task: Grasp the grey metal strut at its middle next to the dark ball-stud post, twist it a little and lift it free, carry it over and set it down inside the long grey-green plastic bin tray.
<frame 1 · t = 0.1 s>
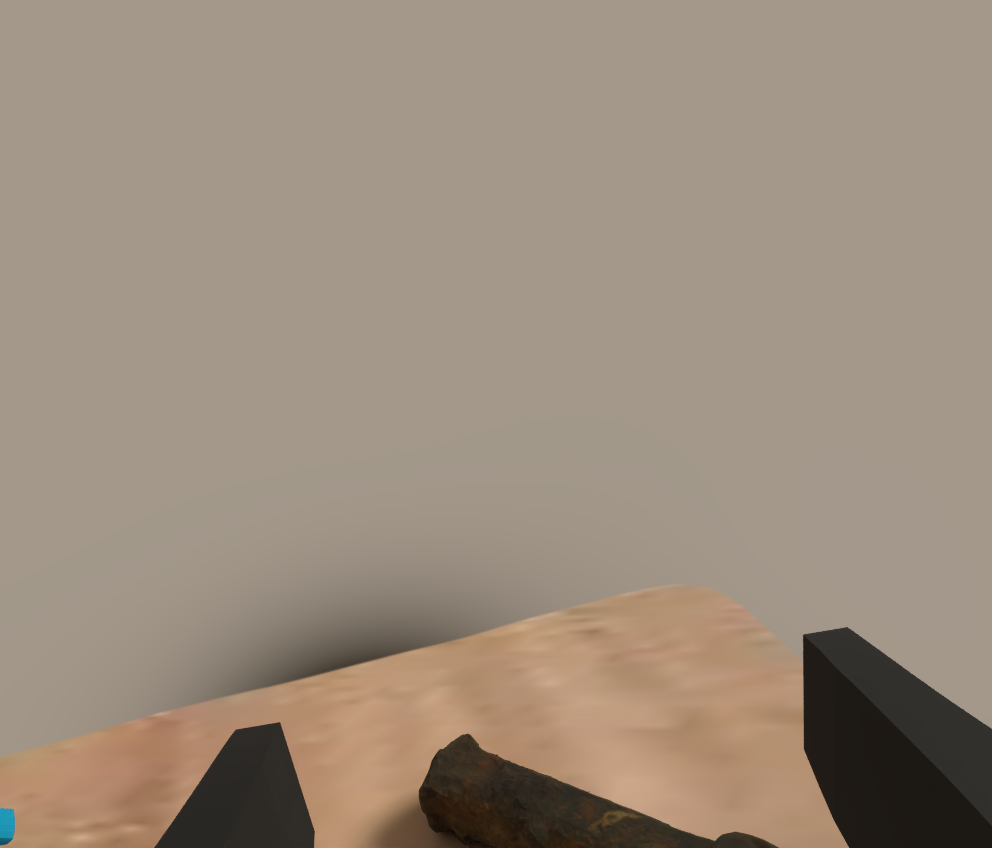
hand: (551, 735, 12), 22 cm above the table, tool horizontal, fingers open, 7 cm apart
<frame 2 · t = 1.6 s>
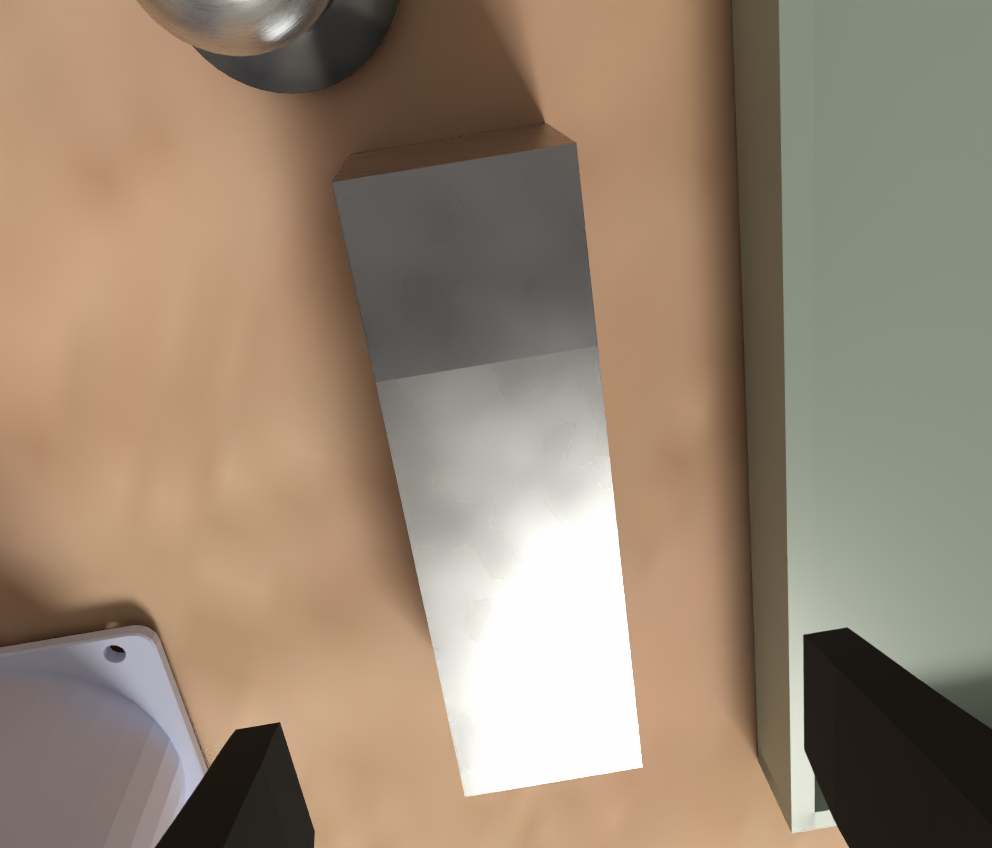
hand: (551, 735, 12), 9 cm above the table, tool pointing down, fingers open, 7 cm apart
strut: (498, 446, 21), on the table
bin tray: (961, 331, 20), on the table
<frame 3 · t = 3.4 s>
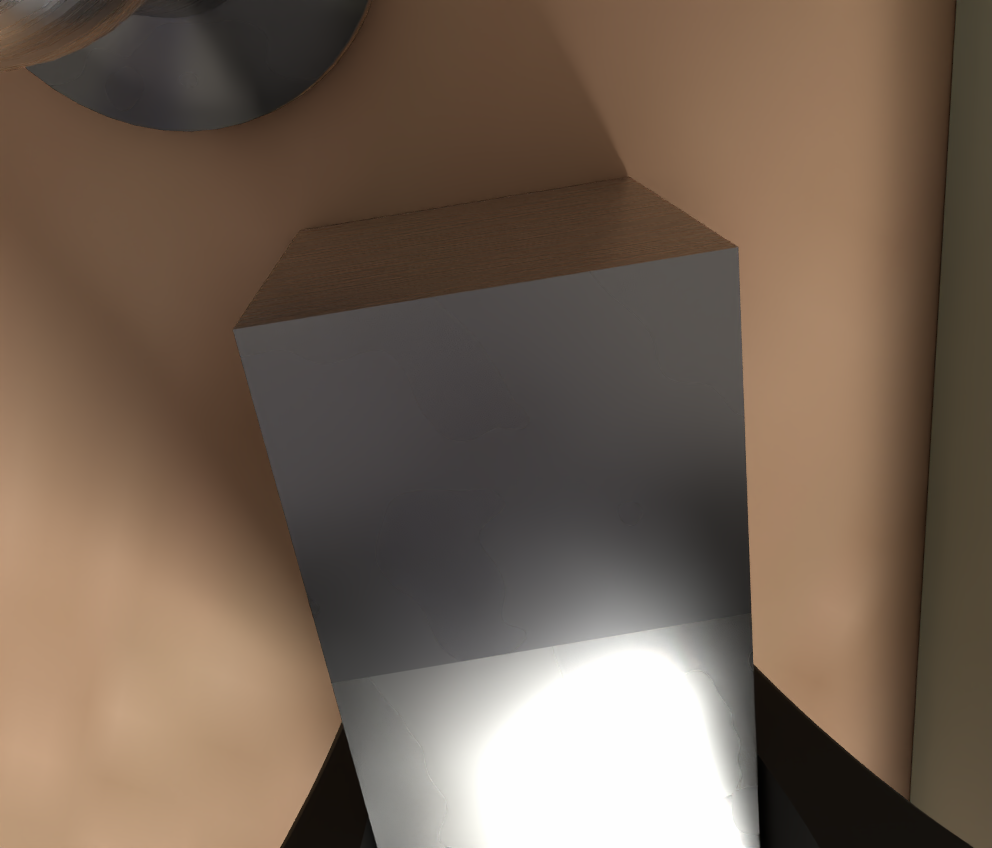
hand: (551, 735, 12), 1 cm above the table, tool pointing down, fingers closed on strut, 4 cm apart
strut: (538, 668, 13), on the table, touching gripper
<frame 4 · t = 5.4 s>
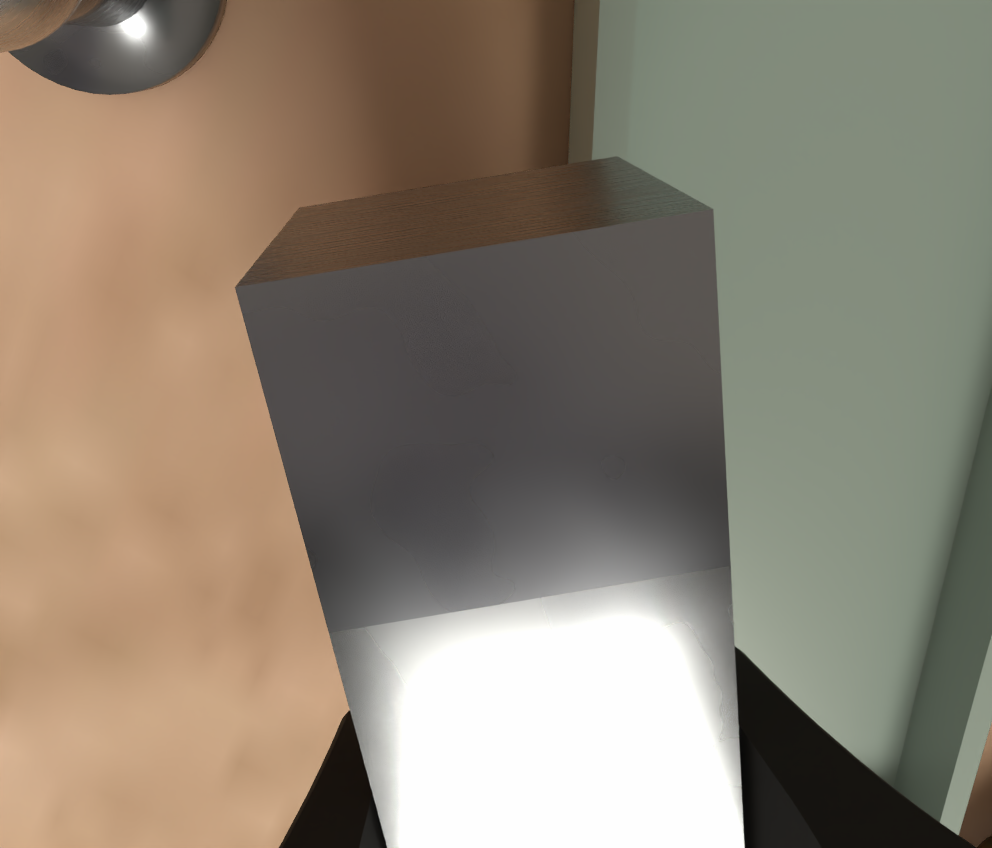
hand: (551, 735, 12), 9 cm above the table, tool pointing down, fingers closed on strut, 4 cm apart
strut: (531, 638, 14), point 7 cm above the table, touching gripper
bin tray: (777, 436, 20), on the table
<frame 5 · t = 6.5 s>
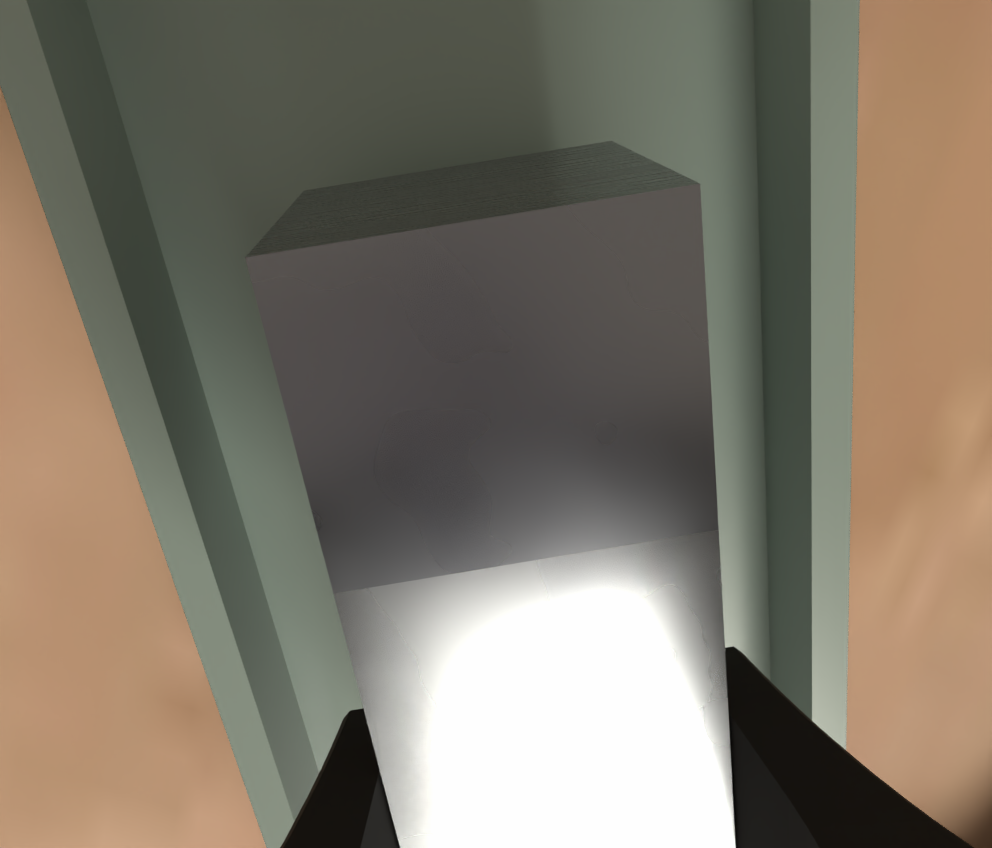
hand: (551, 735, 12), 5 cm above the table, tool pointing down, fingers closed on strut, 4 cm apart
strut: (529, 613, 14), point 2 cm above the table, touching gripper
bin tray: (517, 557, 16), on the table
when the fingers open (3 cm above the table, at t = 7.5 s): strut stays where it is, resting on bin tray.
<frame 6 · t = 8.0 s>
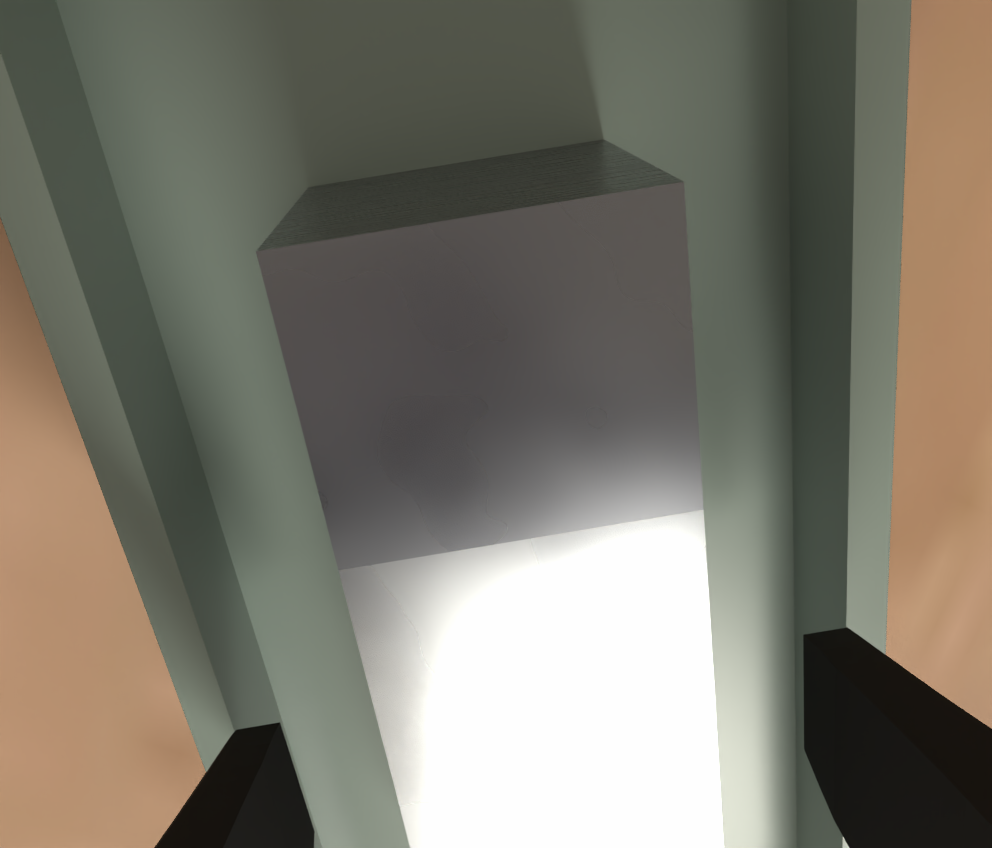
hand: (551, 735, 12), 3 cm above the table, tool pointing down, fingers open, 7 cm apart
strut: (525, 595, 15), resting on bin tray
bin tray: (525, 593, 15), on the table
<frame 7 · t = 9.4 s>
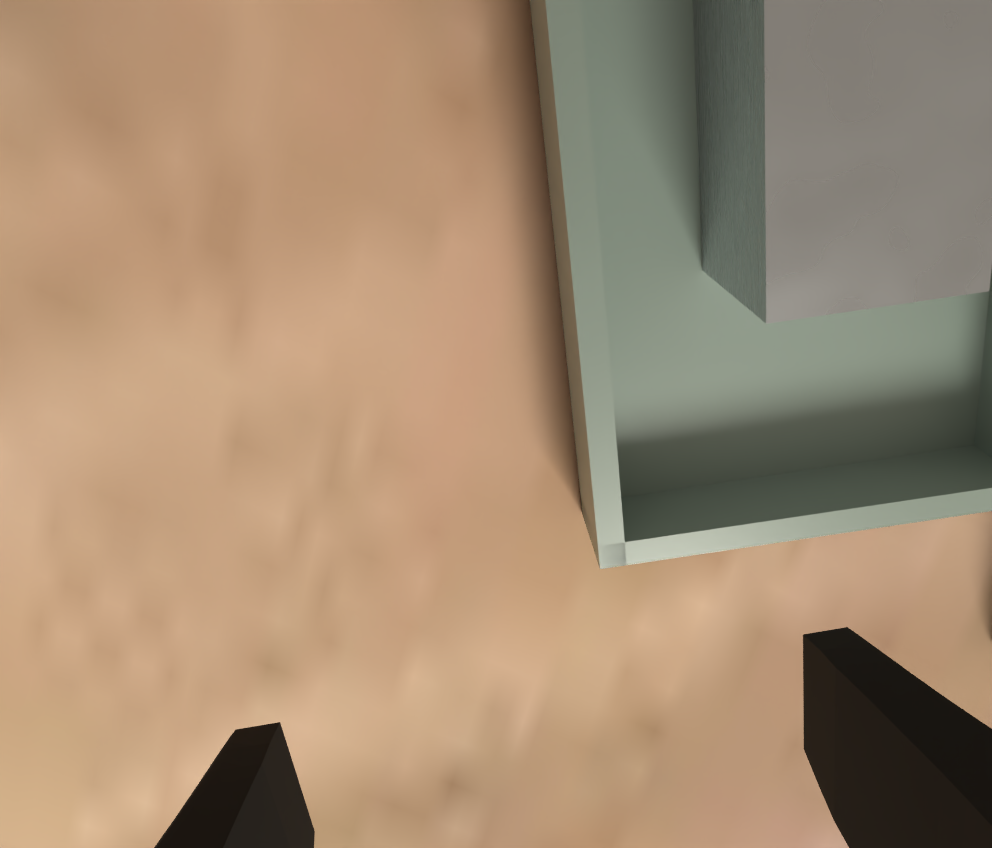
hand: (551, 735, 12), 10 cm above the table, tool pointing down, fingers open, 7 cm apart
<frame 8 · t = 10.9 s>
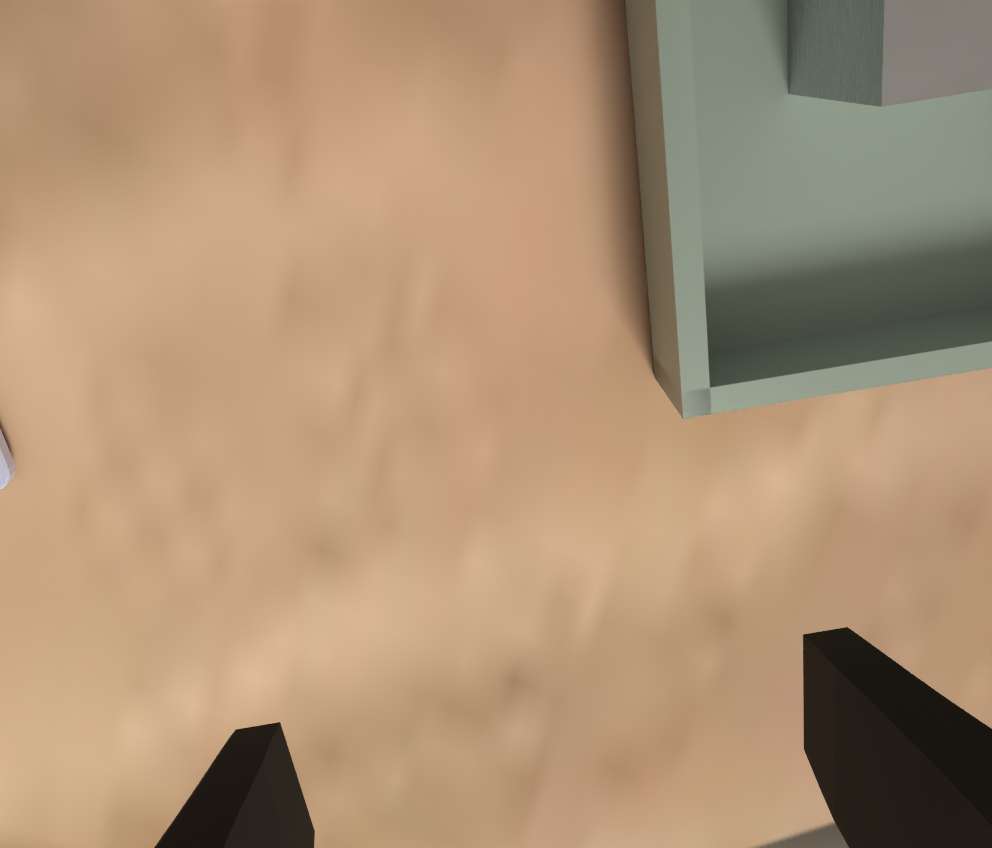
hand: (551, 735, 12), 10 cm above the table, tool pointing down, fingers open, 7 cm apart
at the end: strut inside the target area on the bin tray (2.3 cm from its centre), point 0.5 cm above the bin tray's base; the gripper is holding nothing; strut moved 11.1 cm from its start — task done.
